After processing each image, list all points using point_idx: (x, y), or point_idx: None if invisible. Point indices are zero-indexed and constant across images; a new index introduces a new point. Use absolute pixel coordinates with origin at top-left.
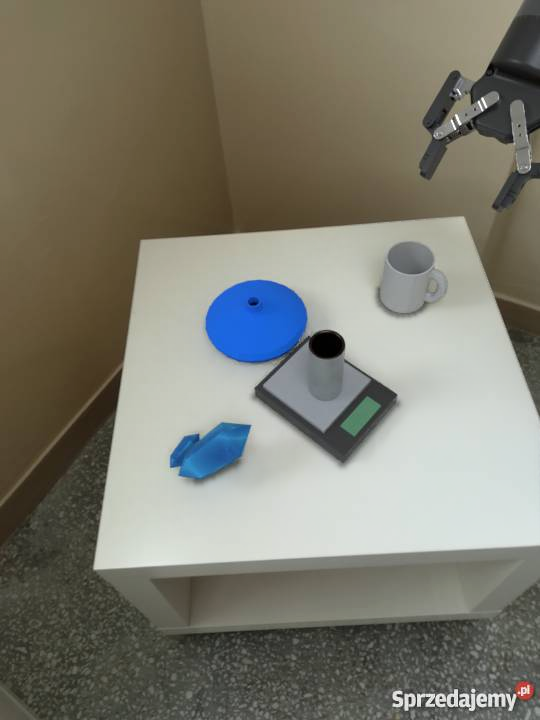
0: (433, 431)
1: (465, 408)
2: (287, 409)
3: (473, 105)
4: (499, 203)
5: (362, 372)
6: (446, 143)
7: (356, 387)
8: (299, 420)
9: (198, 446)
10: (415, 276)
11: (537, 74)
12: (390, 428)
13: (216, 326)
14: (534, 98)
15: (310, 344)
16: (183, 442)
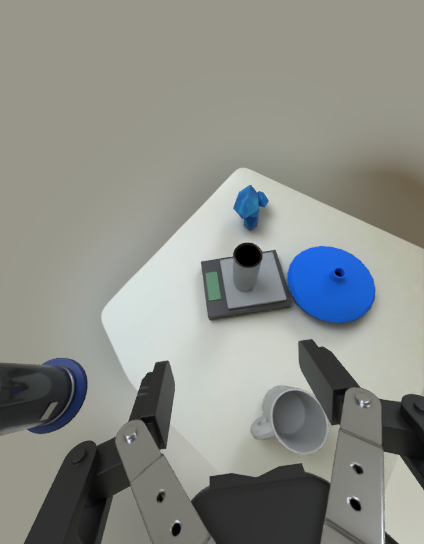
0: (177, 322)
1: (172, 354)
2: None
3: (376, 517)
4: (156, 366)
5: (238, 311)
6: (340, 422)
7: (230, 295)
8: None
9: (251, 190)
10: (274, 400)
11: None
12: (198, 303)
13: (337, 252)
14: None
15: (255, 246)
16: (264, 197)
